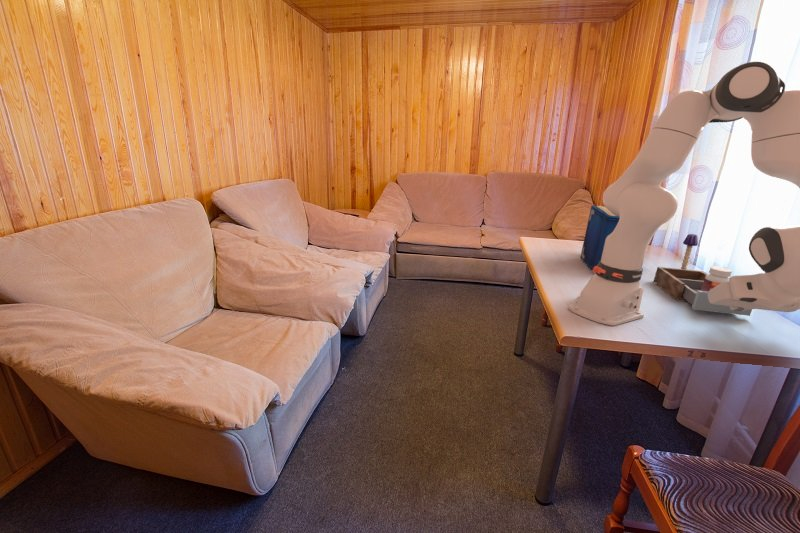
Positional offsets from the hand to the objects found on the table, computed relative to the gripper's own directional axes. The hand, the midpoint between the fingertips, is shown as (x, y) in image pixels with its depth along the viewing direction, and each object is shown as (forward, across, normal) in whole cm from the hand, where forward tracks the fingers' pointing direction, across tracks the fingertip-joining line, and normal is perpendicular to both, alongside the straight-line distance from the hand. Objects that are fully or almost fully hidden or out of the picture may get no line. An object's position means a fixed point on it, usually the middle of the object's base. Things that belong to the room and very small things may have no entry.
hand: (735, 308), depth 105 cm
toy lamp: (+37, -8, -30) cm, 48 cm away
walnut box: (+21, 0, -14) cm, 25 cm away
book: (+35, +26, -28) cm, 51 cm away
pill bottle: (+10, 0, -6) cm, 12 cm away
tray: (+13, 0, -8) cm, 15 cm away
